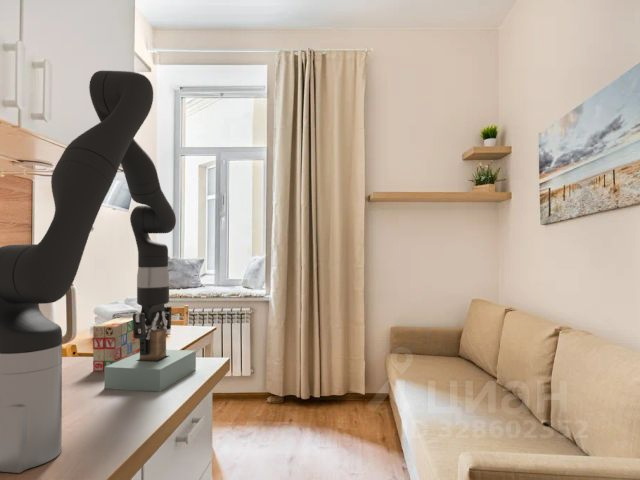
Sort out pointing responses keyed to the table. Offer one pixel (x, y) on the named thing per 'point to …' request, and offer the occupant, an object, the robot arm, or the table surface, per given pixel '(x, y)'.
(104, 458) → the table surface
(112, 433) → the table surface
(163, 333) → the walnut peg
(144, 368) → the socket board
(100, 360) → the stack of blocks
